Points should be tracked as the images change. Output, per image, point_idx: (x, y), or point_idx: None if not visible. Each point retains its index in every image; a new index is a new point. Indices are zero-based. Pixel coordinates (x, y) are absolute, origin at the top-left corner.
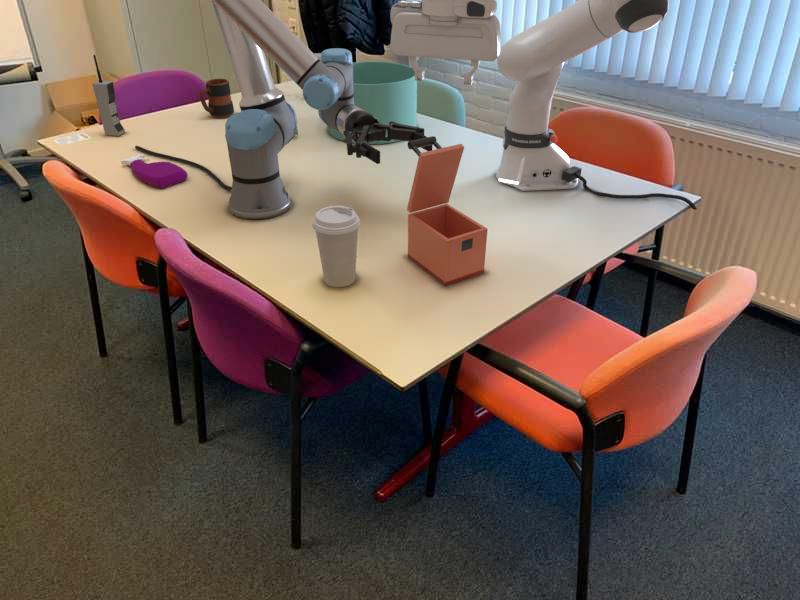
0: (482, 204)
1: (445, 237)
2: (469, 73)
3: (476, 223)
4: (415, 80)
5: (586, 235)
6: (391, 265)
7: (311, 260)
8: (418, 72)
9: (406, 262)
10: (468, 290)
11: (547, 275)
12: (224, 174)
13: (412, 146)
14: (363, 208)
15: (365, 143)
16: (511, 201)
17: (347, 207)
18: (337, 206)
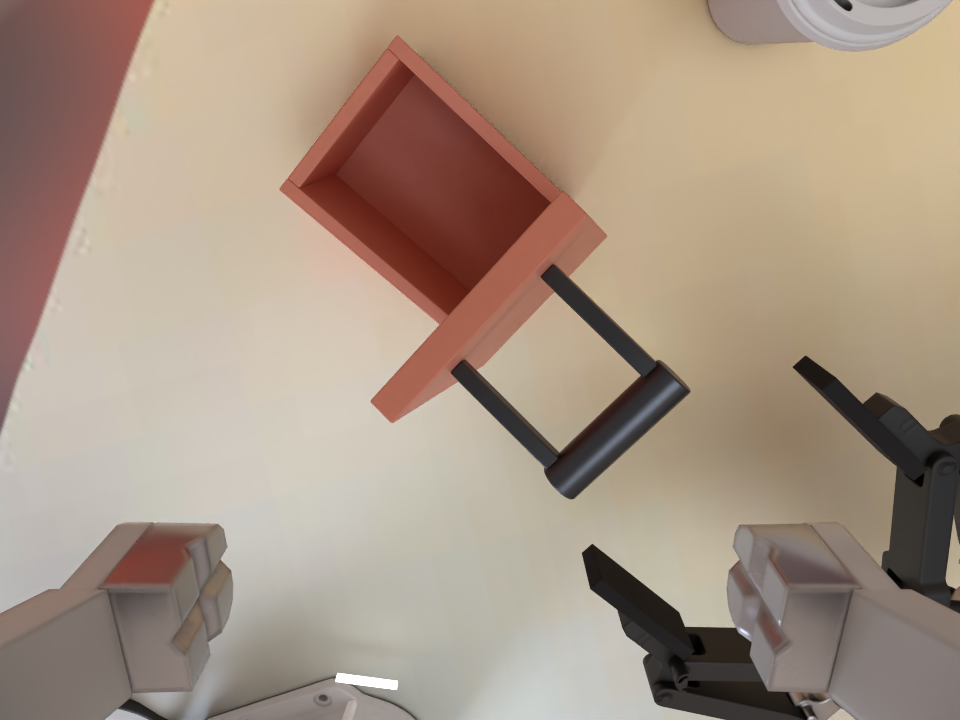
0: (428, 577)
1: (411, 66)
2: (136, 679)
3: (329, 221)
4: (826, 522)
5: (100, 474)
6: (611, 136)
7: (878, 91)
8: (841, 581)
9: (569, 169)
10: (340, 49)
11: (140, 213)
12: None
13: (656, 363)
14: (776, 469)
15: (909, 468)
16: (352, 613)
17: (859, 14)
18: (908, 11)
